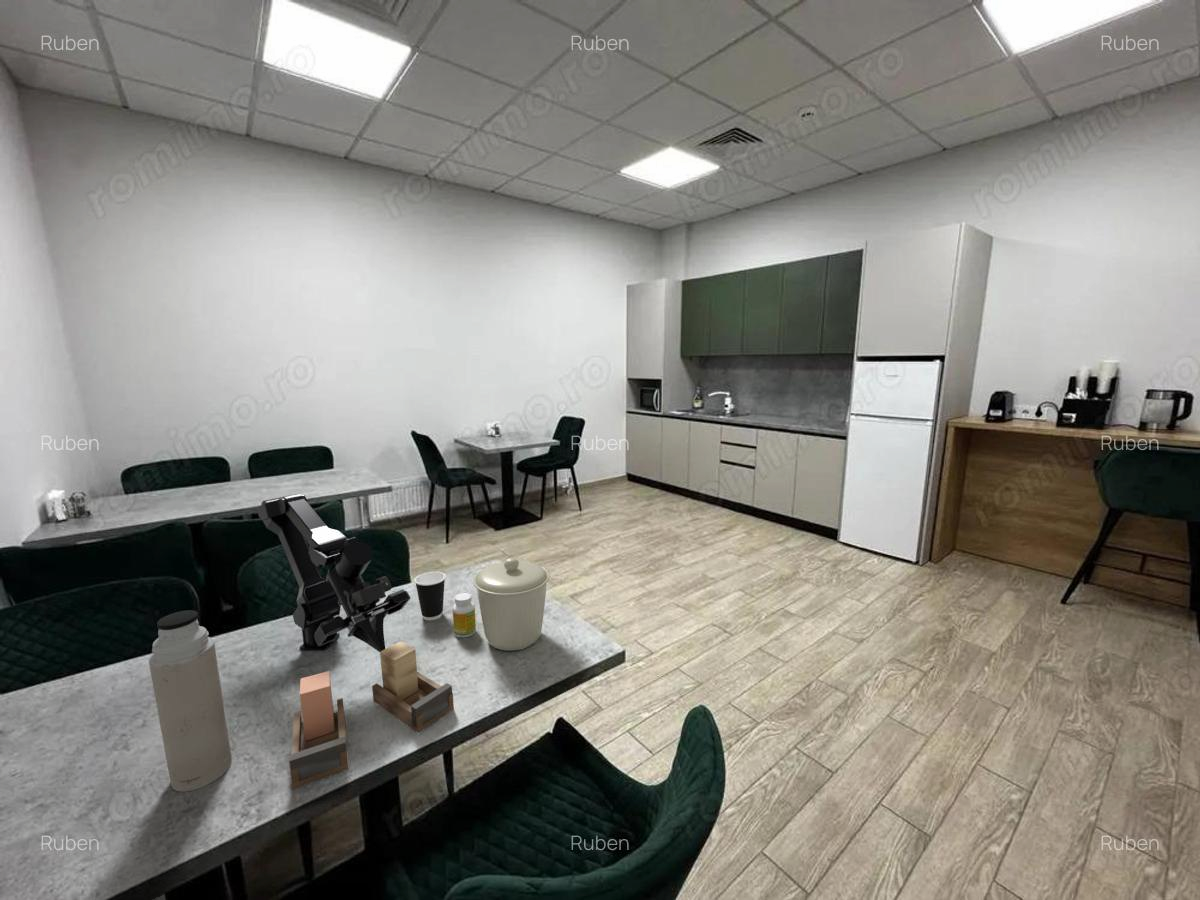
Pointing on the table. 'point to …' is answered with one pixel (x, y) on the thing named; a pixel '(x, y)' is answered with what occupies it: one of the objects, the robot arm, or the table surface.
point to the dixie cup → (431, 594)
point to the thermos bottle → (189, 702)
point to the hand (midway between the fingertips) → (382, 651)
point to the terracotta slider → (317, 705)
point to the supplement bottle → (464, 616)
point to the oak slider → (399, 670)
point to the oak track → (417, 703)
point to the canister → (512, 602)
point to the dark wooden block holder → (318, 751)
